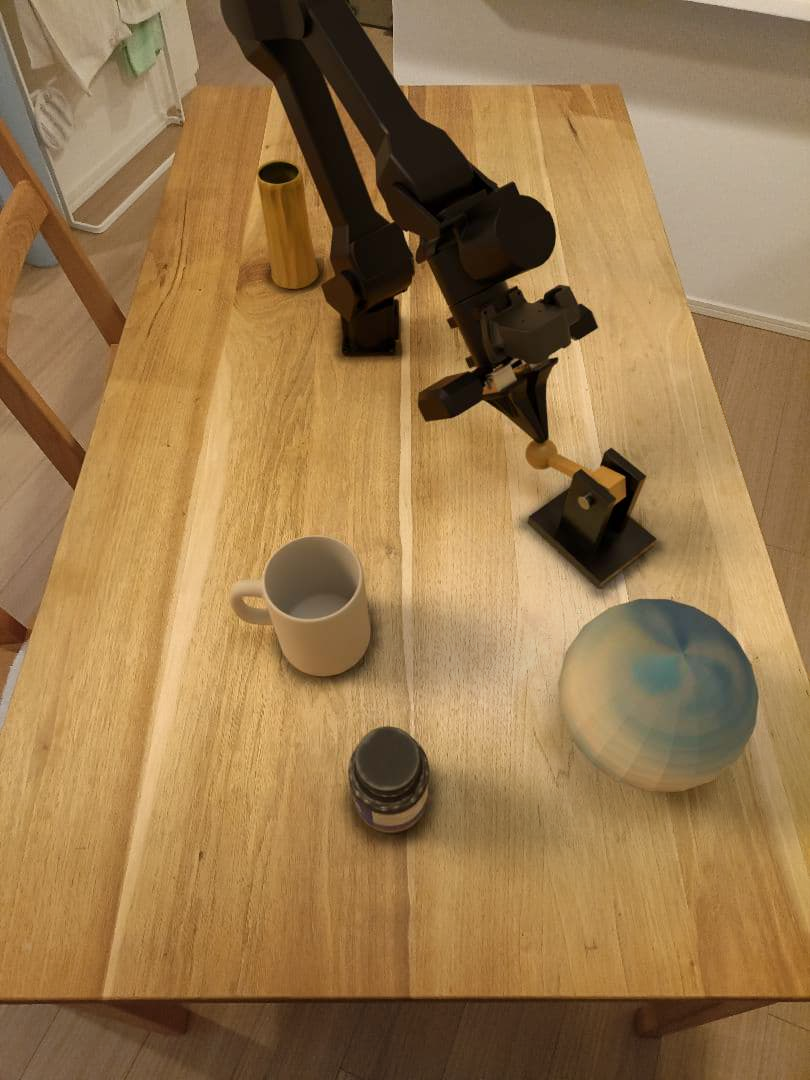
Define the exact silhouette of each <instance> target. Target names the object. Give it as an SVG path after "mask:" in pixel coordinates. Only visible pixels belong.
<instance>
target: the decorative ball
mask: <svg viewBox="0 0 810 1080" xmlns="http://www.w3.org/2000/svg"><path fill="white" fill-rule="evenodd" d="M563 657H564V658H563V662H562V666H561V670H560V674H559V678H558V683H557V686H558V696H559V706H560V707H559V708H560V713H561V717H562V719H563V722H564V724H565V726H566V729H567V731H568V733H569V736H570V738H571V740H572V742H573V744H575V746H576V747H577V748H578V749H579V750H580V752H581V753H582V754H583V756H585V758H586V759H587V760H588V761H589V762H590V764H591V765H593V766H594V767H595V768H597V769H598V770H600V771H601V772H603V773H604V774H606V775H607V776H609V777H610V778H611V779H613V780H615V782H617V783H620V784H623V785H627V786H630V787H633V788H636V789H638V790H642V791H645V792H674V793H675V792H683V791H687V790H689V789H693V788H695V787H698V786H701V785H704V784H707V783H710V782H712V781H714V780H715V779H717V778H718V777H719V776H720V775H721V774H722V773H724V772H725V771H727V769H728V768H730V767H731V766H732V765H734V764H735V763H736V762H737V761H738V760H739V759H740V757H741V756H742V755H743V752H744V750H745V749H746V746H747V745H748V743H749V741H750V739H751V737H752V735H753V733H754V731H755V728H756V725H757V717H758V716H757V715H758V707H759V706H758V705H759V698H760V696H759V689H758V685H757V681H756V677H755V673H754V669H753V664H752V663H751V661H750V658H749V657H748V656H747V654H746V652H745V651H744V649H743V647H742V646H741V644H740V642H739V640H738V639H737V638H736V636H734V634H732V633H731V632H730V631H729V630H728V629H727V628H726V627H725V626H724V625H723V624H722V623H721V622H720V621H718V619H716V618H714V617H713V616H711V615H709V614H707V613H705V611H702V610H701V609H699V608H697V607H696V606H693V605H689V604H686V603H682V602H680V601H676V600H673V599H667V598H637V599H634V600H631V601H627V602H624V603H620V604H617V605H613V606H609V607H608V608H607V609H605V610H604V611H602V612H601V613H600V614H598V615H597V616H596V617H594V618H592V619H591V620H589V621H588V622H586V623H585V624H584V625H583V626H582V627H581V629H580V631H579V632H578V633H577V635H576V636H575V637H574V639H573V641H572V642H571V644H570V645H569V647H567V649H566V651H565V655H564V656H563Z"/></svg>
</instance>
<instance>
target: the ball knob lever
mask: <svg viewBox="0 0 810 1080" xmlns="http://www.w3.org/2000/svg"><path fill="white" fill-rule="evenodd" d="M524 456H525V460H526V462H527V464H528V465H529V467H532V468H533V469H535V470H540V471H545V470H548V469H550V468H551V469H554V470H556V471H558V472H560V473H562V474H564V475H566V476H567V477H569V478H571V479H572V478H573V474H574V473H575V472H577V471H578V470H580V469H582V470H583V471H585V472H586V473H587V474H588V475H589V476H590V477H592V478H593V479H594V480H595V481H596V482H598V483H599V484H600V485H601V486H602V487H603V488H605V489H606V490H607V491H608V492H609V493H611V494H612V495H613V496H614V497H615V498H616V501H615V504H617V503H618V502H619V501H621V500H622V499H623V498H625V497H626V481H625V476H623V475H621V474H619V473H617V472H615V471H613V470H611V469H609V468H607V467H605V466H601V467H600V466H599V467H598V468H596V469H595V470H591V469H589V468H587V467H585V466H583V465H581V464H579V463H577V462H575V461H573V460H572V459H569V458H567V457H565V456H563V455H561V454H559V453H558V448H557V446H556V443H554V441H552V439H548V440H547V441H545V442H544V443H537V442H535V441H534V440H533V439H532V440H531V441H530V442H529V443H528V444H527V445H526V448H525V453H524ZM615 504H614V505H615Z"/></svg>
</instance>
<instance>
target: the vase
mask: <svg viewBox="0 0 810 1080" xmlns="http://www.w3.org/2000/svg"><path fill="white" fill-rule="evenodd" d="M255 175H256V181H257V185H258V190H259V197H260V203H261V210H262V215H263V221H264V228H265V235H266V241H267V242H266V243H267V250H268V256H269V257H268V258H269V264H270V269H271V279H272V281H273V283H274V284H275V285H277V286H279V287H280V288H283V289H287V290H299V289H303V288H306V287H309V286H310V285H312V284H313V283H314V282H315V281H316V279H317V278H318V276H319V268H318V264H317V259H316V254H315V247H314V243H313V238H312V234H311V228H310V222H309V215H308V207H307V201H306V200H307V199H306V192H305V184H304V177H303V175H304V174H303V171H302V169H301V166H300V165H299V164H298V163H296V162H295V161H292V160H289V159H284V158H283V159H282V158H278V159H272V160H269V161H266V162H264V163H263V164H261V165H260V166H258V168H257V170H256V174H255Z"/></svg>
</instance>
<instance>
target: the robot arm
mask: <svg viewBox="0 0 810 1080" xmlns="http://www.w3.org/2000/svg"><path fill="white" fill-rule="evenodd" d="M350 5H351V3H350V0H219V6H220V12H221V15H222V19H223V22H224V23H225V26H226V28H227V29H228V31H229V32H230V34H231V35H232V36H233V37H234V38H235V40H236V42H237V44H238V46H239V48H240V50H241V52H242V54H243V57H244V58H245V60H246V61H247V62H248V63H249V64H251V65H252V66H253V67H254V68H255V69H257V70H258V71H259V72H260V73H261V74H262V75H263V76H265V77H266V78H267V79H268V80H270V81H271V82H272V84H273V86H274V88H275V91H276V93H277V95H278V98H279V100H280V102H281V105H282V108H283V110H284V112H285V115H286V118H287V120H288V122H289V124H290V127H291V129H292V132H293V134H294V136H295V139H296V141H297V144H298V147H299V149H300V151H301V154H302V156H303V159H304V161H305V163H306V167H307V169H308V171H309V174H310V177H311V178H312V181H313V184H314V186H315V188H316V191H317V193H318V195H319V198H320V200H321V203H322V206H323V208H324V210H325V212H326V213H325V214H326V215H327V217H328V219H329V223H330V225H331V227H332V228H331V229H332V232H331V243H330V251H329V262H330V264H331V265H330V266H331V267H332V271H333V273H334V276H333V277H331V278H330V279H328V280H325V282H323V283H321V285H320V286H321V290H322V293H323V296H324V299H325V302H326V303H327V304H328V305H329V306H330V307H331V308H333V309H334V310H335V311H336V312H337V313H338V314H339V316H340V317H339V318H340V325H341V335H342V337H341V338H342V339H341V354H342V355H343V356H347V357H349V356H350V357H351V356H358V357H359V356H361V357H362V356H395V354H396V353H397V341H400V339H401V321H400V319H401V316H400V300H399V299H398V298H395V297H397V296H399V295H400V294H403V293H406V292H407V291H408V290H409V287H410V286H411V285H412V283H413V278H414V277H413V276H414V275H415V274H416V264H417V265H421V264H424V262H427V264H428V266H429V268H430V270H431V272H432V275H433V277H434V279H435V282H436V283H437V286H438V288H439V289H440V292H441V294H442V296H443V298H444V301H445V304H446V305H447V306H448V309H449V312H450V314H451V316H450V317H448V318H447V319H446V322H447V324H448V326H449V328H450V330H453V329H456V328H457V329H458V331H459V333H460V335H461V337H462V340H463V341H464V344H465V346H466V349H467V350H468V353H469V354H470V355H468V356H467V357H466V358H464V360H465V362H466V364H467V367H468V369H471V368H475V369H473V370H471V371H470V370H467V371H463V372H460V373H459V372H458V373H455V374H451V375H447V376H444V377H442V378H440V379H439V380H438V381H436V382H434V383H432V384H431V385H429V386H428V387H426V388H424V389H422V390H420V391H419V392H418V397H417V408H418V411H419V412H420V414H421V416H422V418H423V421H424V422H425V423H427V422H435V421H443V420H451V419H453V418H457V417H458V416H460V415H462V414H463V413H465V412H466V411H468V410H470V409H471V408H473V407H474V406H476V405H478V404H480V403H481V402H483V401H484V402H485V403H487V404H489V405H490V406H491V407H493V408H494V409H495V410H497V411H499V412H500V413H501V414H503V415H504V416H505V417H507V418H508V420H510V421H511V422H512V423H513V424H515V426H517V427H518V428H519V429H520V430H522V432H524V434H526V435H527V436H528V437H530V439H532V441H533V440H534V441H535V442H537V443H544V442H545V441H547V440H548V439H549V438H550V433H549V419H548V405H547V404H548V403H547V385H548V379H549V377H550V374H551V372H552V370H553V368H554V366H556V365H558V363H559V356H555V357H552V358H551V357H550V356H552V355H553V354H555V353H556V352H558V351H559V350H561V349H567V348H568V347H569V346H570V345H571V344H572V341H574V342H577V341H580V340H582V339H583V338H585V337H586V336H588V335H589V334H591V333H592V332H594V331H596V330H598V329H599V325H598V323H597V320H596V317H595V315H594V312H593V310H592V309H590V308H588V307H587V306H586V305H584V304H583V303H579V302H578V300H577V298H576V296H575V293H573V291H572V288H571V286H570V285H565V284H558V285H556V286H554V287H552V288H551V289H549V290H547V291H545V293H544V294H543V298H540V299H538V300H537V301H534V302H529V301H528V300H527V298H525V295H524V293H523V291H522V289H520V288H519V286H518V285H514V286H512V287H509V284H508V283H507V281H508V280H510V279H513V278H515V277H518V276H520V275H522V274H525V273H527V272H530V271H532V270H534V269H536V268H539V267H541V266H543V265H544V264H545V263H546V262H547V261H548V260H549V259H550V257H551V256H552V255H553V253H554V250H555V247H556V242H557V241H556V240H557V230H556V229H557V228H556V225H555V221H554V217H553V216H552V214H551V212H550V210H547V208H546V207H545V206H544V205H543V204H542V203H541V202H540V201H539V200H538V199H536V198H534V197H532V196H530V195H526V194H520V191H519V189H518V187H517V184H516V182H515V181H513V180H512V181H510V182H508V183H506V184H503V185H502V186H499V184H498V183H497V182H495V181H493V180H492V179H490V178H489V177H488V176H487V175H486V174H485V173H484V172H482V171H481V170H480V169H479V168H478V167H477V166H476V165H474V164H473V163H472V162H471V161H470V160H468V158H467V157H466V155H465V154H464V152H463V151H462V150H461V149H460V148H459V147H458V145H457V144H456V143H455V141H454V140H453V139H452V137H450V135H449V133H447V132H446V131H445V130H444V129H442V128H440V127H439V126H437V125H435V124H433V123H431V122H429V121H427V120H425V119H423V118H422V117H421V116H420V115H419V114H418V112H417V111H416V109H414V107H413V106H412V104H411V103H410V101H409V99H408V98H407V96H406V95H405V92H404V91H403V90H402V88H401V87H400V85H399V83H398V82H397V80H396V79H395V76H394V75H393V74H392V72H391V70H390V69H389V68H388V67H389V66H388V65H387V64H386V63H385V61H384V59H383V58H382V56H381V54H380V53H379V51H378V49H377V47H376V46H375V44H374V43H373V42H372V40H371V39H370V37H369V35H368V33H367V32H366V30H365V28H364V27H363V25H362V24H361V23H360V21H359V19H358V17H357V16H356V15H355V12H354V11H353V9H352V7H351V6H350ZM328 84H329V86H330V87H331V89H332V90H333V92H334V94H335V95H336V97H337V99H338V101H339V102H340V104H341V105H342V106H343V108H344V109H345V111H346V113H347V115H348V116H349V118H350V120H351V121H352V122H353V124H354V125H355V127H356V129H357V131H358V132H359V134H360V135H361V137H362V138H363V140H364V141H365V143H366V145H367V146H368V148H369V150H370V152H371V154H372V156H373V158H374V165H375V169H374V170H375V183H376V184H375V185H376V187H377V190H378V191H379V193H380V196H381V197H382V199H383V201H384V204H385V207H386V210H387V212H388V215H389V216H390V218H391V220H392V222H390V221H389V220H388V219H387V218H386V217H384V216H383V215H382V214H381V213H379V212H378V211H377V210H376V208H375V206H374V204H373V200H372V198H371V195H370V192H369V190H368V188H367V186H366V182H365V180H364V177H363V174H362V171H361V169H360V167H359V164H358V161H357V158H356V156H355V154H354V150H353V148H352V146H351V143H350V140H349V137H348V135H347V133H346V130H345V127H344V125H343V121H342V119H341V116H340V114H339V111H338V109H337V106H336V104H335V101H334V98H333V96H332V93H331V90H330V87H329V86H328ZM408 232H410V233H411V234H415V235H417V236H418V237H419V243H418V246H417V249H416V251H415V257H414V254H413V252H412V251H411V249H410V247H409V245H408V242H407V239H406V236H405V233H408ZM549 440H550V439H549Z"/></svg>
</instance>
